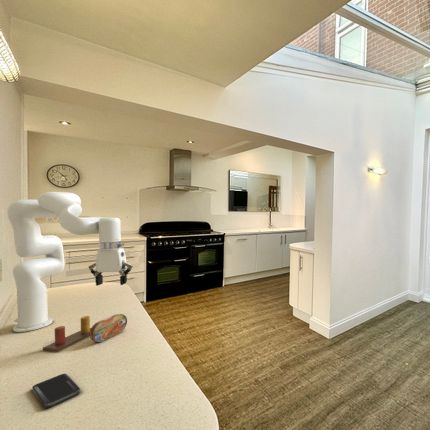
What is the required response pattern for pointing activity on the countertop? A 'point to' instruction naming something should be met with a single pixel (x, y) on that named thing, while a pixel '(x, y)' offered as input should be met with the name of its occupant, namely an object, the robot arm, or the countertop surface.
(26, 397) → the countertop surface
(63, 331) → the rod stand
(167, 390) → the countertop surface
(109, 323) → the tin
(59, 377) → the phone
